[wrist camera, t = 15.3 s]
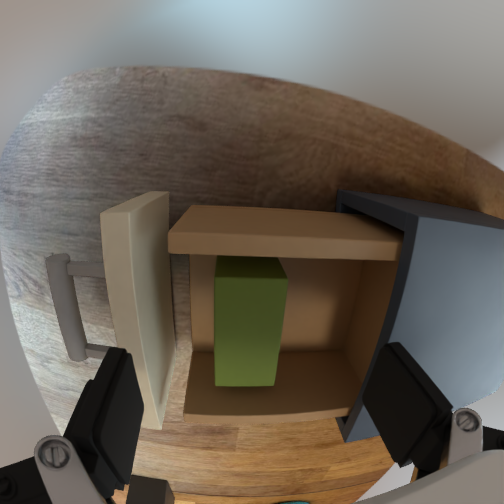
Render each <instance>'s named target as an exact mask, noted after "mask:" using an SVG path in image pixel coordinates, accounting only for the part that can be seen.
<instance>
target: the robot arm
mask: <svg viewBox="0 0 504 504" xmlns="http://www.w3.org/2000/svg"><path fill="white" fill-rule="evenodd" d="M362 402H363V404H364V406H365V408H366V410H367V412H368V413H369V415H370V417H371V419H372V421H373V423H374V425H375V427H376V428H377V430H378V432H379V434H380V436H381V438H382V440H383V442H384V444H385V446H386V447H387V449H388V451H389V453H390V455H391V457H392V459H393V461H394V462H396V463H398V465H399V467H400V468H401V467H404V466H406V465H409V464H411V463H412V462H413V464H414V465H415V467H414V471H413V474H412V478H411V481H410V483H409V484H407V485H404V486H402V487H399V488H397V489H394V490H391V491H389V492H386V493H383V494H380V495H377V496H374V497H372V498H368V499H365V500H362V501H358V502H355V503H351V504H504V431H501V430H497V429H493V428H489V427H485V426H482V420H481V418H480V416H479V415H478V414H477V413H476V412H475V411H474V410H472V409H469V408H459V409H457V410H456V411H455V412H454V413H452V412H451V410H452V409H453V405H452V404H451V403H450V402H449V400H448V399H447V398H446V397H445V395H444V394H443V393H442V392H441V390H440V389H439V388H438V387H437V386H436V384H435V383H434V382H433V381H432V379H431V378H430V377H429V376H428V375H427V373H426V372H425V371H424V370H423V369H422V367H421V366H420V365H419V364H418V363H417V361H416V360H415V359H414V358H413V357H412V356H411V354H410V353H409V352H408V351H407V350H406V349H405V347H404V346H403V345H402V344H401V343H400V342H391V343H386V344H384V346H383V347H382V348H381V349H380V351H379V353H378V356H377V359H376V362H375V364H374V367H373V370H372V372H371V375H370V377H369V380H368V382H367V385H366V387H365V390H364V392H363V395H362ZM143 413H144V402H143V399H142V395H141V391H140V387H139V383H138V379H137V375H136V371H135V367H134V362H133V358H132V354H131V353H127V350H126V349H125V348H117V347H109V349H108V351H107V353H106V355H105V357H104V359H103V361H102V363H101V365H100V367H99V369H98V372H97V374H96V376H95V378H94V380H91V379H90V380H89V381H88V382H87V383H86V385H85V387H84V389H83V392H82V394H81V396H80V398H79V400H78V402H77V405H76V407H75V409H74V411H73V414H72V416H71V418H70V421H69V423H68V425H67V428H66V430H65V433H64V435H63V437H62V436H58V435H50V436H46V437H44V438H42V439H41V440H40V441H39V442H38V443H37V444H36V446H35V449H34V456H33V457H31V458H28V459H25V460H23V461H20V462H17V463H14V464H11V465H8V466H5V467H2V468H0V504H116V503H115V502H114V500H113V499H112V497H111V496H113V495H114V490H115V489H117V490H122V491H124V485H125V484H126V485H128V484H129V483H130V478H131V473H132V467H133V462H134V456H135V451H136V446H137V441H138V436H139V432H140V427H141V422H142V418H143Z"/></svg>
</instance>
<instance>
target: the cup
mask: <svg viewBox="0 0 504 504" xmlns="http://www.w3.org/2000/svg"><path fill="white" fill-rule="evenodd" d="M279 504H310V503H307V502H302V501H294V502H285V503H279Z"/></svg>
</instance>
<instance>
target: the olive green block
mask: <svg viewBox="0 0 504 504" xmlns="http://www.w3.org/2000/svg"><path fill="white" fill-rule="evenodd" d="M287 289H288V277H287V275H286V273H285V271H284V269H283V267H282V265H281V263H280V261H279V259H278V257H257V256H228V255H217V258H216V266H215V274H214V378H215V386H274V384H275V377H276V371H277V364H278V357H279V350H280V343H281V336H282V328H283V321H284V313H285V305H286V297H287Z"/></svg>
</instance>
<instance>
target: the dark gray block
mask: <svg viewBox="0 0 504 504" xmlns="http://www.w3.org/2000/svg"><path fill="white" fill-rule="evenodd" d="M174 500H175V497H174V495H173V493H172V491H171V489H170V486H169V484H168V482H167V481H166V480H158V479H152V478H145V477H140V476H134V475H131V480H130V485H129V490H128V495H127V500H126V504H174Z"/></svg>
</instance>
